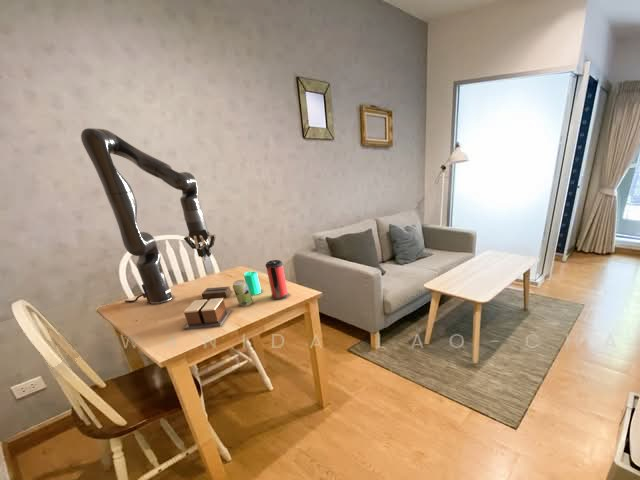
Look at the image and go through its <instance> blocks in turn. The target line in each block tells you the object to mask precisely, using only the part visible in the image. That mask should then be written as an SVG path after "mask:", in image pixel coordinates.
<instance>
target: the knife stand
mask: <svg viewBox="0 0 640 480" xmlns="http://www.w3.org/2000/svg"><path fill="white" fill-rule="evenodd" d="M231 289H232V288H231V286H217V287H216V286H215V287H207V288H206V289H204V291H203V292H202V293H201V298H202V300H205V299H207V300H210V299H217V298H223V299H226V298H228V297H229V295H230V294H231V293H232V290H231Z"/></svg>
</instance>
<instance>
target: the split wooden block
mask: <svg viewBox="0 0 640 480" xmlns="http://www.w3.org/2000/svg"><path fill="white" fill-rule="evenodd" d="M230 313H231V309H227V308H226V304H225V300H224V298H216V299H204V300H203V299H194V300H193V301H192V302H191V303H190V304H189V305H188V307H186V308H185V309H184V311H183V314H184V317H185V320H186V322H187V324H186V325H185V326H184V327H183V329H184V330H194V329H203V328H216V327H221V326H222V325H223V323H224V321H226V319H227V318H228V316H229V314H230Z"/></svg>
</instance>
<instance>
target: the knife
mask: <svg viewBox="0 0 640 480" xmlns="http://www.w3.org/2000/svg"><path fill="white" fill-rule="evenodd" d="M195 250H196V252H197V256H198V257H199V258H201V257H200V256H203V258H204V260H203V261H202V263H203V266H204V270H205V273H206V274H208V273H209V272H211V270H213V263H212V259H211V256H210V257H207V253H206V250H205V246H204V245H203V244H201V246H200V247H199V248H198V249H195Z"/></svg>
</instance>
